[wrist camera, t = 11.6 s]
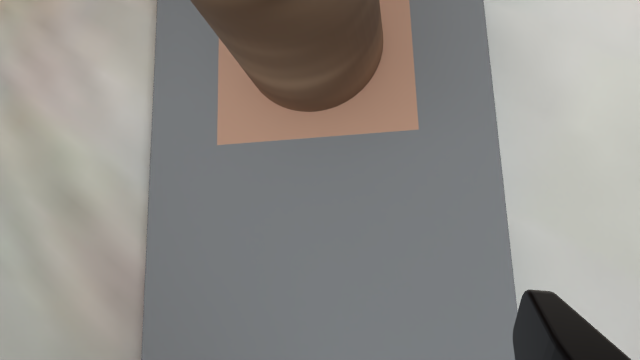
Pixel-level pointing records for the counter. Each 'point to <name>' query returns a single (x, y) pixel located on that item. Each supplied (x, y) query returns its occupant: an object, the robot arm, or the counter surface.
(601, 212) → the counter surface
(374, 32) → the walnut roller
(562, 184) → the counter surface
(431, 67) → the slate board
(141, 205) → the counter surface
